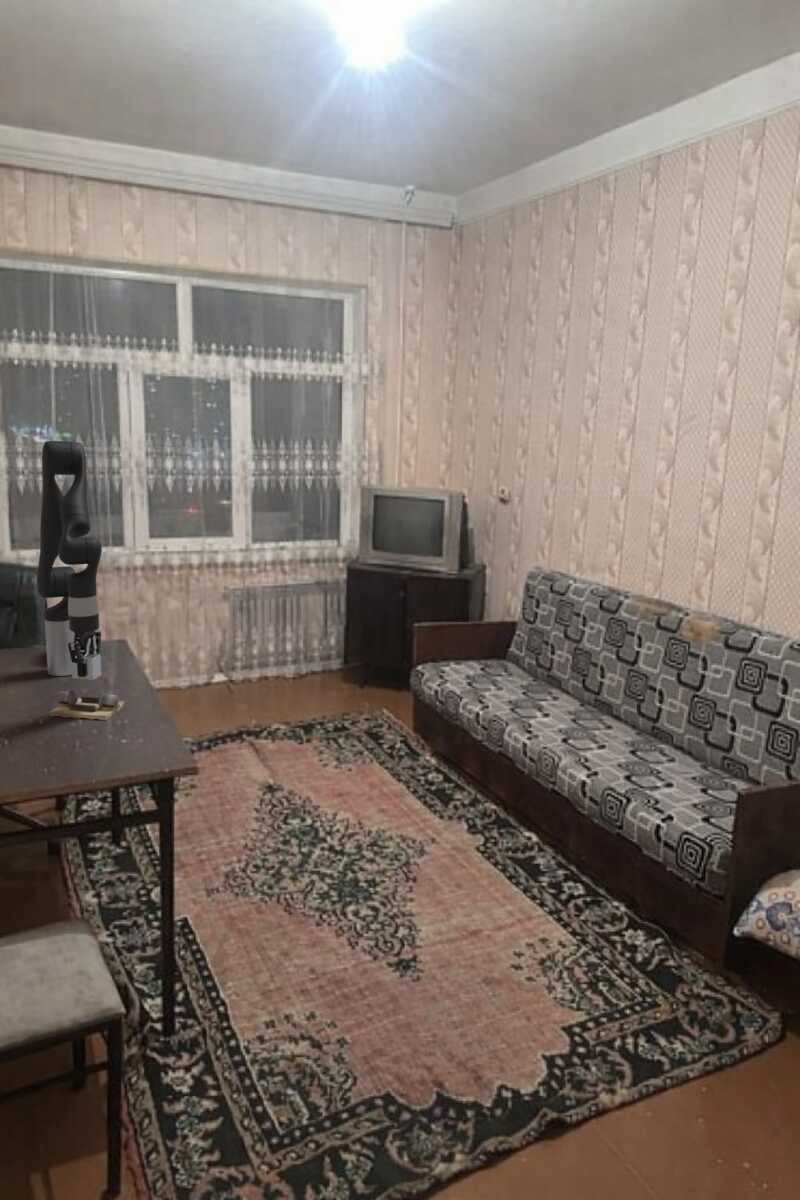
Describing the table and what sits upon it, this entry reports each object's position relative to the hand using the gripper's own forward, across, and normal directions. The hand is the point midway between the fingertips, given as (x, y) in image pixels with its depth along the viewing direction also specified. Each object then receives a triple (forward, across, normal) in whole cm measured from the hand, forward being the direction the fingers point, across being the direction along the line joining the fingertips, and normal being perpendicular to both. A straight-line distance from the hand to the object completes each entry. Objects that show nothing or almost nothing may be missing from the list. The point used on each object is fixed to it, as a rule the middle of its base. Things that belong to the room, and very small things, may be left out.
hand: (86, 673), depth 225 cm
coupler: (+1, 0, 0) cm, 1 cm away
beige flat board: (+11, 0, 0) cm, 11 cm away
